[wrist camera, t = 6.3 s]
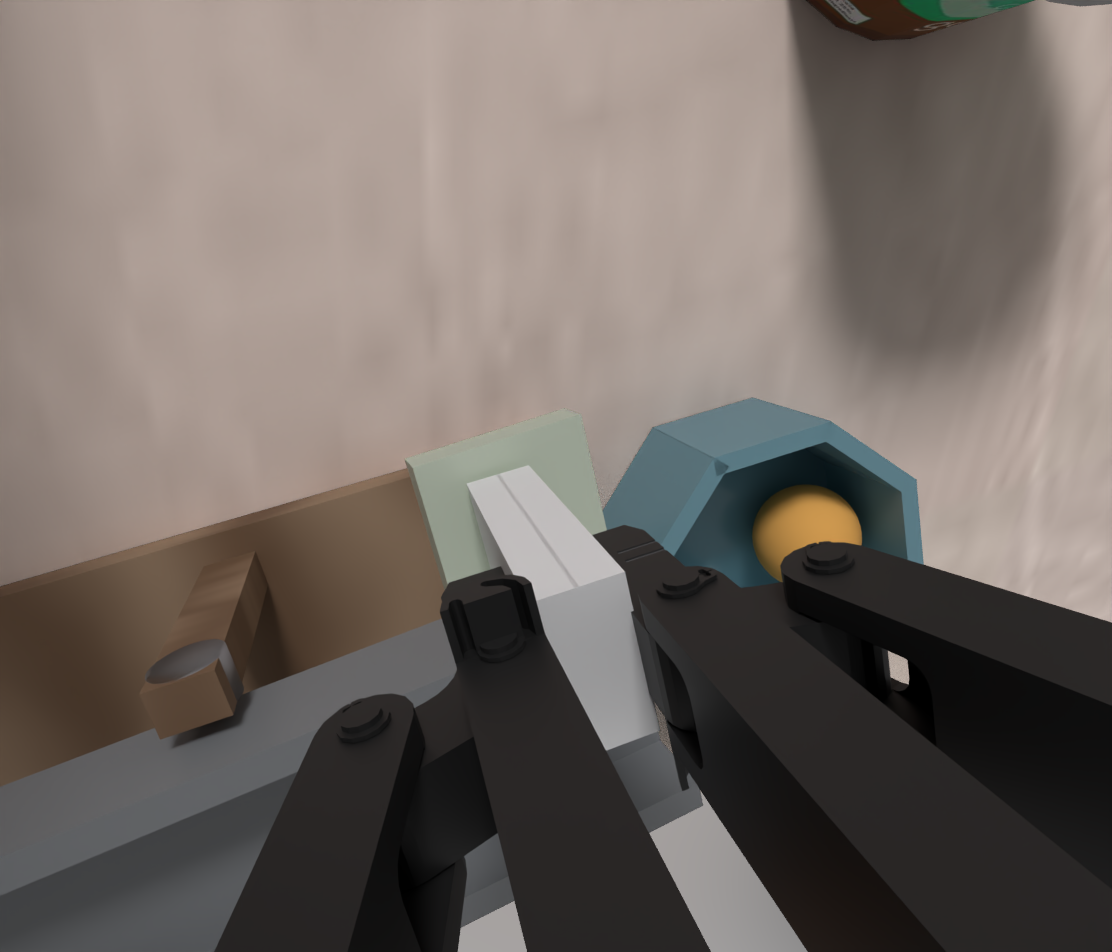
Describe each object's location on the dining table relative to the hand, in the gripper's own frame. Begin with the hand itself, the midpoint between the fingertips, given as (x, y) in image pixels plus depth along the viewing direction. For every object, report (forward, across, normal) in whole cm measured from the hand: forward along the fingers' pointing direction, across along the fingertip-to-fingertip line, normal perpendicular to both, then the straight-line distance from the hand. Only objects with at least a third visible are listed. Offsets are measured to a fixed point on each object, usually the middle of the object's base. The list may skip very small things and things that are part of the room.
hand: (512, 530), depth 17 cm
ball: (+7, +11, -6) cm, 15 cm away
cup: (+10, +9, -6) cm, 15 cm away
